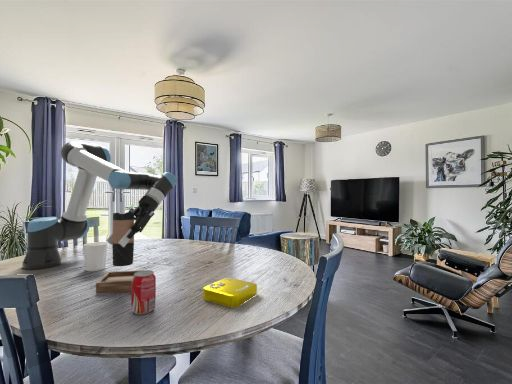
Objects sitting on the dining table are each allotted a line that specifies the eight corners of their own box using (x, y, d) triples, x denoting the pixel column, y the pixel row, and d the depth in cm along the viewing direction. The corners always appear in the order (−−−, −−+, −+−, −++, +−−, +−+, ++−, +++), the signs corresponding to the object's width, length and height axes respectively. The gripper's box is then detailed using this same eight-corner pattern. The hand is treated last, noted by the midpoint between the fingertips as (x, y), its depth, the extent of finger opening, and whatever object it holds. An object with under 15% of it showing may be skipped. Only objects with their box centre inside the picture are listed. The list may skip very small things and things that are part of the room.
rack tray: (107, 281, 112) (107, 271, 112) (143, 279, 115) (143, 270, 115) (95, 294, 98) (96, 283, 98) (137, 291, 101) (137, 280, 101)
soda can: (135, 306, 88) (136, 269, 88) (157, 306, 89) (158, 269, 89) (127, 316, 81) (127, 276, 81) (151, 315, 82) (152, 276, 82)
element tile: (235, 310, 88) (235, 295, 88) (200, 300, 95) (200, 286, 95) (258, 295, 100) (259, 282, 100) (226, 287, 108) (226, 275, 108)
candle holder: (78, 270, 127) (78, 244, 127) (97, 265, 136) (97, 241, 136) (92, 272, 123) (93, 246, 123) (111, 267, 132) (112, 242, 132)
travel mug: (125, 267, 102) (125, 214, 102) (107, 265, 103) (108, 213, 103) (137, 262, 109) (138, 212, 109) (121, 260, 111) (121, 212, 111)
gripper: (172, 207, 114) (137, 252, 100) (141, 205, 125) (106, 246, 111) (162, 194, 110) (124, 240, 96) (131, 194, 120) (93, 235, 106)
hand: (114, 243), depth 103 cm, fingers closed on travel mug, 7 cm apart
